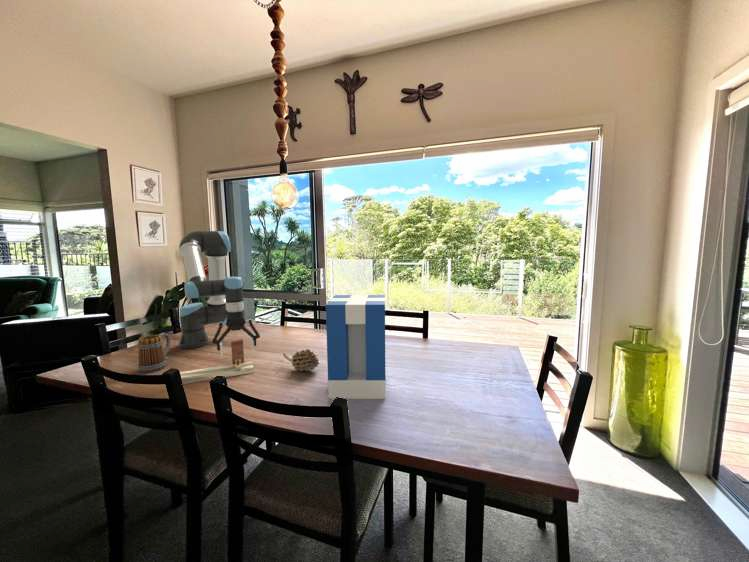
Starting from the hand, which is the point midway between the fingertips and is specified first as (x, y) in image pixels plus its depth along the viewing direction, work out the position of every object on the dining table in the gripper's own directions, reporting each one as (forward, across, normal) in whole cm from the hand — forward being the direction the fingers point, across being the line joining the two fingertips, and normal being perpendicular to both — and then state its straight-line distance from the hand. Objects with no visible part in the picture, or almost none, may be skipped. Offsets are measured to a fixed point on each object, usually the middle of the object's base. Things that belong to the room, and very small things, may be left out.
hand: (237, 354), depth 147 cm
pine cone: (+5, +25, -17) cm, 31 cm away
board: (+5, -9, -8) cm, 13 cm away
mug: (+6, -35, +15) cm, 38 cm away
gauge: (+5, 0, -5) cm, 7 cm away
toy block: (+5, +44, -44) cm, 62 cm away
